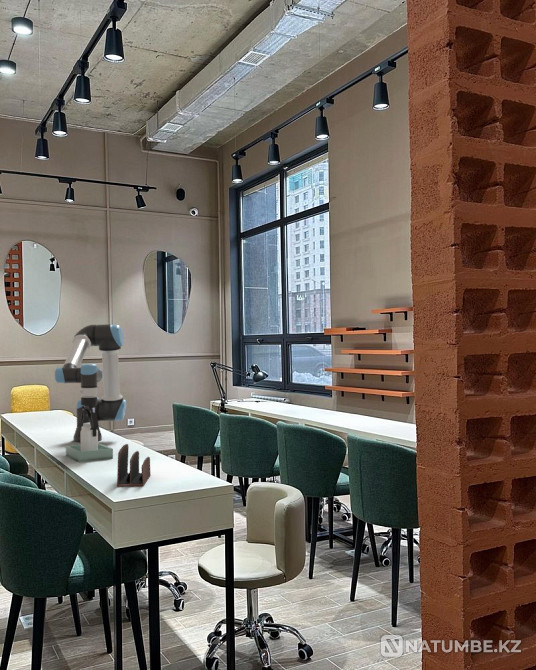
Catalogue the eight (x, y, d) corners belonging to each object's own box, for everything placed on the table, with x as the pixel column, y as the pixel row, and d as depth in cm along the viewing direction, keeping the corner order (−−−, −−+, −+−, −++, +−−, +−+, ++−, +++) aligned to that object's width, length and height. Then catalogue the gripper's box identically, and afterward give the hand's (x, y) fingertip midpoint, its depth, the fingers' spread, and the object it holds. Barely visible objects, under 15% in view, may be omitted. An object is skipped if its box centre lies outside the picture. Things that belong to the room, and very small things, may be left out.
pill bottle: (76, 455, 305) (76, 423, 305) (89, 452, 312) (88, 421, 313) (89, 456, 302) (89, 424, 302) (101, 454, 309) (101, 422, 309)
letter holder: (116, 487, 244) (116, 449, 244) (126, 476, 263) (126, 441, 264) (143, 487, 244) (143, 449, 244) (150, 476, 264) (150, 441, 264)
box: (66, 455, 311) (66, 446, 311) (98, 452, 320) (98, 443, 320) (78, 462, 294) (78, 452, 294) (112, 458, 303) (112, 448, 303)
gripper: (73, 395, 316) (73, 439, 315) (89, 399, 295) (89, 445, 295) (88, 394, 320) (88, 437, 320) (105, 398, 299) (105, 444, 299)
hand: (89, 441), depth 307 cm, fingers open, 13 cm apart
